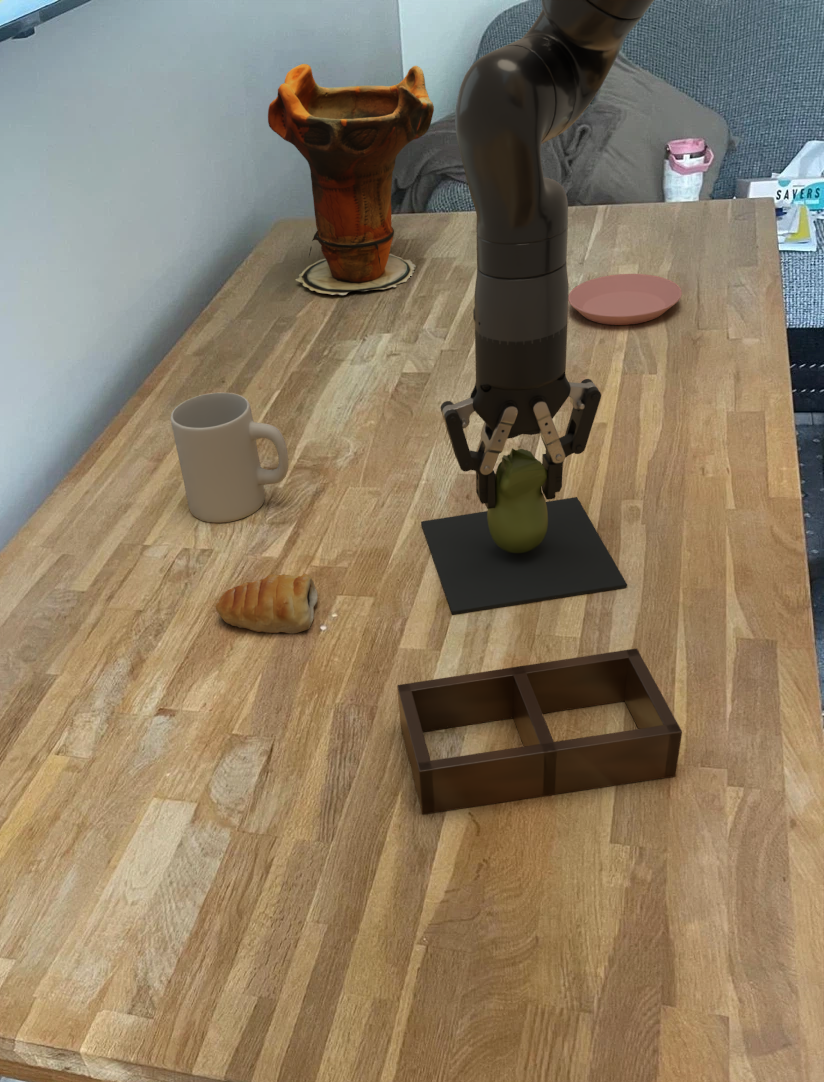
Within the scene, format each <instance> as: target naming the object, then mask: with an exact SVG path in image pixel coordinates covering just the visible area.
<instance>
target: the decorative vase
mask: <svg viewBox="0 0 824 1082" xmlns="http://www.w3.org/2000/svg"><path fill="white" fill-rule="evenodd" d="M429 96H430V95H429V93H428V91H427V88H426V80H425V75H424V70H423V69H422V68H421V67H420V66H418V65H413V66H411V68H409V70H408V72H407V73H406V75H405V77H404V78H403V79H402V80H400V81H399V82H398V83H397V84H394V85H388V86H387V85H349V86H338V87H337V86H336V87H326V86H325V87H324V86H321V85H319V84H318V83H317V82H316V81H315V78H314V76H313V69H312V67H311V65H309V64H307V63H302V64H299V65H297V66H294V67H293V68H291V69H290V70H289V71H288V72H287V73H286V75H285V78H284V82H283V83H281V84H280V85H279V87H278V88H277V96H276V98H275V99H273V100H272V101H271V102H270V103H269V105H268V109H267V124H268V127H269V128H270V129H271V131H273V132H274V133H275V134H277V135H278V136H279V137H280V138H281V139H283V140H284V141H286V142H287V143H290V144H292V145H293V146H294V147H295V148H296V150H298V152H299V153H300V154H301V156H302V157H304V159H305V160H306V162H307V164H308V166H309V167H308V168H309V170H310V181H311V193H312V199H313V210H314V218H315V219H314V220H315V227H316V231H315V234H313V238H312V240H311V241H312V242H313V241H317V242H318V243H319V244H320V246H321V247H320V249H321V254H322V256H323V257H324V258H321V259H318V260H317V261H315V262H314V263H312V264H310V265H307V266H305V267H304V270H302V273H300V274H298V276H299V277H298V278H296V279H294V280H295V281H296V282H299V283H301V284H302V287H304V288H308V289H309V291H312V292H313V291H315V292H316V293H320V294H328V295H332V296H333V295H339V296H346V295H347V294H348V293H351V292H354V291H357V292H367V291H373V290H386V289H390V288H396V287H398V285H399V284H402V283H407V281H408V279H409V278H411V277H410V276H412V277H413V273H415V271H414V270H416V267H417V265H416V264H415V263H413V261H411V259H404V258H402V257H400V256H396V255H395V254H393V253H390V251H391V248H392V243H393V240H394V236H395V229H394V227H393V226H392V186H393V185H392V184H393V173H394V170H395V167H396V159H397V156H398V155H399V153H400V152H401V151H402V150H403V149H404V148H405V147H406V146H407V145H408V144H410V143H411V142H412V141H414V140H417V139H420V138H421V137H422V136H424V135H425V134H427V132H428V130H429V129H430V127H431V123H432V120H433V116H434V111H435V107H434V104H433V103H434V102H433V101H432V100H431V98H430V97H429ZM312 248H313V247H312V246H310V248H309V254H308V257H310V256H311V251H312Z"/></svg>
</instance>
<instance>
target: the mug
mask: <svg viewBox="0 0 824 1082" xmlns="http://www.w3.org/2000/svg"><path fill="white" fill-rule="evenodd" d="M170 423H171V424H170V425H171V429H172V433H173V437H174V443H175V447H176V453H177V456H178V457H177V458H178V462H179V467H180V470H181V476H182V481H183V486H184V490H185V497H186V503H187V506H188V510H189V511H190V514H191V515H192V516H193V517H195V518H196V519H197V520H200V521H203V522H207V523H216V524H219V523H220V524H222V523H223V524H224V523H229V522H230V523H231V522H235V521H238V520H242V519H244V518H247V517H249V516H251V515H252V514H254V513H255V512H257V511H258V510H259V509H260V508H261V507H262V506H263V505H264V503H265V499H266V491H265V485H275V484H279V483H281V482H282V481H283V480H284V479H285V478H286V476H287V474H288V472H289V471H288V469H289V451H288V447H287V443H286V440H285V438H284V435H283V433H282V432H281V430H280V429H279V428H278V427H277V426H275V425H272V424H269V423H265V422H257V421H254V417H253V413H252V408H251V404H250V402H249V400H248V398H246V397H245V396H243V395H241V394H238V393H233V392H225V391H223V392H220V391H219V392H211V393H204V394H200V395H197V396H194V397H191V398H188V399H186V400H184V401H183V402H181V403H179V404H178V405H176V407H174V408H173V410H172V412H171V414H170ZM260 439H267V440H269V441H271V442H272V443H273V445H274V446H275V449H276V452H277V457H278V464H277V467H276V468H274V469H267V468H264V467H262V466H261V460H260V455H259V450H258V443H257V440H260Z"/></svg>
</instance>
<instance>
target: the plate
mask: <svg viewBox="0 0 824 1082" xmlns="http://www.w3.org/2000/svg"><path fill="white" fill-rule="evenodd" d="M682 296H683V291H682V289H681V286H679V285H678V284H677V283H676V282H675V281H673V280H670V279H669V278H666V277H662V276H658V275H653V274H646V273H618V274H611V275H603V276H599V277H595V278H592V279H589V280H586V281H583V282H581V283H580V284H578V285H576V286H575V287H574V288H573V289H571V290H570V291H569V296H568V304H570V306H571V307H573V308H574V309H575V310H576V311H577V312H578V313H579V314H580V315H582V316H583V317H584V318H585V319H587V320H589V321H591V322H594V323H598V324H602V325H607V326H609V325H610V326H611V325H612V326H629V325H637V324H642V323H643V324H644V323H646V322H649V321H652V320H655V319H657V318H659V317H660V316H662V315H663V314H665V313H666V312H667V311H668V310H669V309H671V308H672V307H673V306H674V305H676V304H677V303H678V302H679V301H680V300H681V298H682Z"/></svg>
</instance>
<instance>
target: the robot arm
mask: <svg viewBox="0 0 824 1082" xmlns="http://www.w3.org/2000/svg"><path fill="white" fill-rule="evenodd" d="M654 2H655V0H540V4H541V11H540V13H539V14H538V16H537V18H536V19H535V21H534V23H533V24H532V25H531V27H530V28H529V30H528V31H527V32H526V33H525V34H524V35H523V36H522V37H521V38H519V39H518V40H516V41H513V42H511V43H508V44H506V45H504V46H501V47H499V48H497V49H494V50H492V51H490V52H487V53H486V54H484V55H483V56H481V57H479V58H478V59H476V61H474V63H473V64H472V65H470V67H469V68H468V70H467V71H466V73H465V74H464V76H463V79H462V81H461V83H460V86H459V90H458V94H457V99H456V105H455V114H454V125H455V126H454V127H455V135H456V142H457V145H458V146H457V147H458V151H459V154H460V157H461V163H462V167H463V170H464V171H463V172H464V174H465V179H466V182H467V187H468V191H469V194H470V197H471V201H472V203H473V207H474V210H475V214H476V278H475V279H476V280H475V287H474V306H473V310H472V311H473V312H472V318H473V322H474V349H475V350H474V351H475V352H474V353H475V356H474V357H475V384H474V387H473V389H472V391H471V393H470V396H469V397H468V398H466V399H463V400H461V401H458V402H455V403H453V402H452V401H451V400H445V401H443V402H442V403H441V405H440V412H441V415H442V418H443V419H442V420H443V422H444V424H445V429H446V431H447V434H448V439H449V441H450V443H451V447H452V451H453V453H454V456H455V459H456V461H457V463H458V466H459V468H460V470H461V471H462V472H464V473H465V472H470V471H474V472H475V493H476V495H477V498H478V500H479V502H480V503H481V505H484V504H485V508H486V509H487V510H488V509H490V508H495V474H496V471H495V470H494V469H495V466H496V463H497V461H498V459H499V455H500V454H502V453H503V451H504V449H505V445H506V443H507V440H508V439H514V438H517V437H519V436H521V435H527V436H533V435H538V434H539V437H540V439H541V441H542V444H543V446H544V448H545V453H542V455H541V456H542V457H541V463H542V465H543V466H544V467H545V468H546V470H547V479H546V481H545V482H544V484H543V485H542V487H541V489H542V493H543V495H544V498H545V500H547V501H549V500H556V493H560V492H561V490H562V488H563V469H564V468H563V467H564V461H565V459H567V457H568V456H570V455H572V454H574V455H580V454H582V453H584V452H585V450H586V447H587V445H588V441H589V437H590V434H591V431H592V428H593V425H594V421H595V418H596V416H597V415H596V414H597V411H598V408H599V405H600V402H601V398H602V393H601V391H600V390H599V388H598V386H597V385H596V384H595V383H594V381H593V380H592V379H591V378H585V379H582V380H581V382H575V381H573V382H572V381H568V379H567V376H566V375H567V374H566V372H567V371H566V369H567V346H568V344H567V343H568V323H569V322H568V321H569V301H568V296H569V293H570V291H569V286H570V285H569V277H568V267H567V265H568V264H567V262H568V260H567V259H568V257H567V256H568V233H569V231H568V230H569V201H568V196H567V193H566V190H565V188H564V187H563V186H562V183H559V182H558V181H557V180H555V179H552V178H549V177H546V176H544V171H543V164H542V156H541V151H542V145H543V144H544V143H546V142H548V141H551V140H552V139H554V138H556V137H558V136H559V135H561V134H563V133H564V132H565V131H567V130H568V129H569V128H571V127H572V125H573V124H575V122H576V121H577V120H578V119H579V118H580V117H581V116H582V115H583V113H584V112H585V111H586V110H587V109H588V107H589V106H590V104H592V102H593V100H594V99H595V97H596V96H597V94H598V93H599V91H600V89H601V87H602V86H603V84H604V82H605V81H606V79H607V77H608V75H609V74H610V71H611V69H612V68H613V66H614V64H615V62H616V60H617V58H618V56H619V54H620V52H621V49H622V47H623V45H624V43H625V41H626V38H627V36H628V34H630V32H631V31H632V30H633V29H634V28H635V27H636V25H637V24H638V23H639V21H640V20H641V19H642V17H643V16H644V15H645V14H646V12H647V11H648V10H649V8H650V7H651V5H652V4H653V3H654ZM568 398H569V402H570V405H571V406H572V410H571V413H570V417H569V420H568V424H567V427H566V430H565V433H564V435H563V436H561V437H560V436H559V434H558V431H557V428H556V425H555V423H554V421H553V419H554V418H555V417H556V415H557V414H558V412H559V411H560V409H561V408H562V406H563V405H564V404H565V402H567V400H568ZM474 412H475V413H476V414H477V415H478V417H479V418H480V419H481V420H482V421H483V425H482V428H481V431H480V439H479V443H478V445H477V448H476V450H470V448H469V444H468V441H467V437H466V434H465V431H464V429H466V428H467V427H468V426H469V425H470V421H471V420H470V418H471V415H472V414H473V413H474Z"/></svg>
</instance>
